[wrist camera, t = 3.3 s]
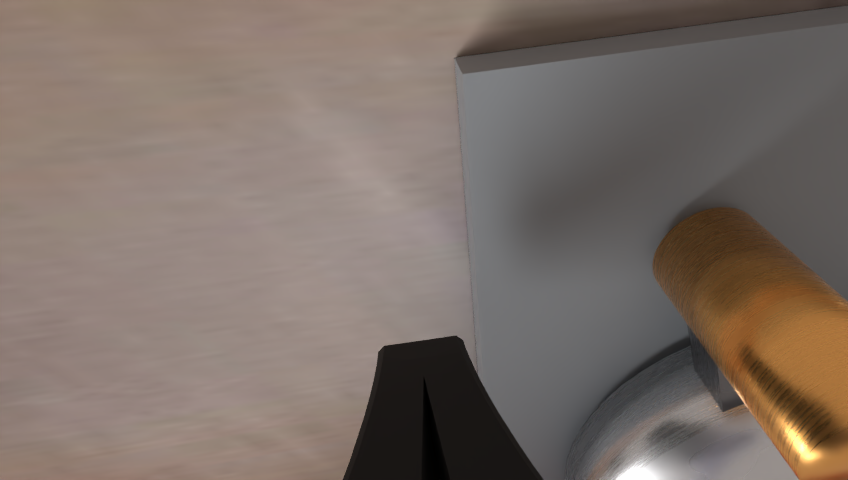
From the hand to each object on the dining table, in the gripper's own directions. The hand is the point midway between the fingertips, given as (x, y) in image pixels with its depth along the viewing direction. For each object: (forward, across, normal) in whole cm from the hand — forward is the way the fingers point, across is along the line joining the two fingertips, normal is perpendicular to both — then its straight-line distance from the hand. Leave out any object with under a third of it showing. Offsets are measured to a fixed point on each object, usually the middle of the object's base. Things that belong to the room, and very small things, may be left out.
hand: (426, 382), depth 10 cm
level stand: (+3, -9, +4) cm, 10 cm away
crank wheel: (+2, -7, +5) cm, 9 cm away
